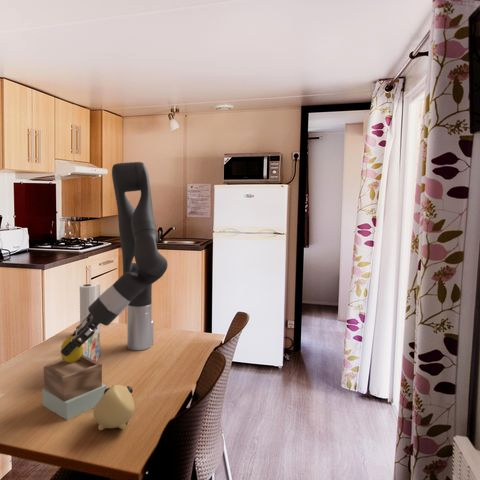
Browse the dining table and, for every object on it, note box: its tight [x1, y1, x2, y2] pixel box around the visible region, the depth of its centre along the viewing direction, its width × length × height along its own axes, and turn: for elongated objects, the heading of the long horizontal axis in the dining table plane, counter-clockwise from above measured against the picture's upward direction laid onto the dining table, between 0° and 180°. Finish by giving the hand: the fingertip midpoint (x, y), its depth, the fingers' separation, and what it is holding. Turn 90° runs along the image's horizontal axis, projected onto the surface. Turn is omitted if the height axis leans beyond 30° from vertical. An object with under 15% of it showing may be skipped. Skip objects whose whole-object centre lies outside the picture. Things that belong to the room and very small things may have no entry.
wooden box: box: [43, 355, 103, 402], centre depth 106 cm, size 11×11×6 cm
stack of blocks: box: [61, 332, 101, 362], centre depth 128 cm, size 21×6×12 cm, turn 7°
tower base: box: [41, 383, 107, 421], centre depth 107 cm, size 12×12×5 cm
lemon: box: [60, 335, 83, 364], centre depth 105 cm, size 6×6×8 cm
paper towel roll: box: [79, 283, 102, 333], centre depth 160 cm, size 7×6×21 cm
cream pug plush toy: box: [92, 384, 136, 431], centre depth 97 cm, size 10×12×11 cm
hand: (65, 349), depth 104 cm, fingers closed on lemon, 5 cm apart
